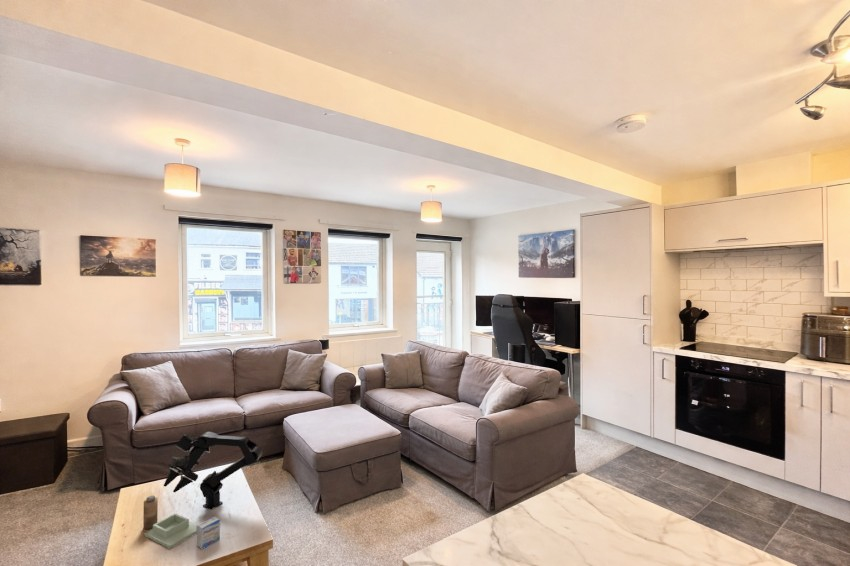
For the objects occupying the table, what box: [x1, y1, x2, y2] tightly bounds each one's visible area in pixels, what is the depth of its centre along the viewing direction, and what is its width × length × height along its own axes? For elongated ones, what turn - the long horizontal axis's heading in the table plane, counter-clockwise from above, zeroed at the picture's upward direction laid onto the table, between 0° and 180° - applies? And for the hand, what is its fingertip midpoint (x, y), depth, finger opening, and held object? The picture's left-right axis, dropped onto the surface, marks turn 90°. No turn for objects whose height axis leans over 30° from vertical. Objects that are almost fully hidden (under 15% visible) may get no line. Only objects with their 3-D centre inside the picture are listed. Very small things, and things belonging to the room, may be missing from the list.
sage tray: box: [144, 513, 198, 549], centre depth 174 cm, size 18×14×4 cm
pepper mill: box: [142, 495, 159, 531], centre depth 178 cm, size 5×5×13 cm
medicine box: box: [195, 516, 221, 549], centre depth 168 cm, size 8×4×9 cm, turn 148°
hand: (169, 489), depth 185 cm, fingers open, 9 cm apart
